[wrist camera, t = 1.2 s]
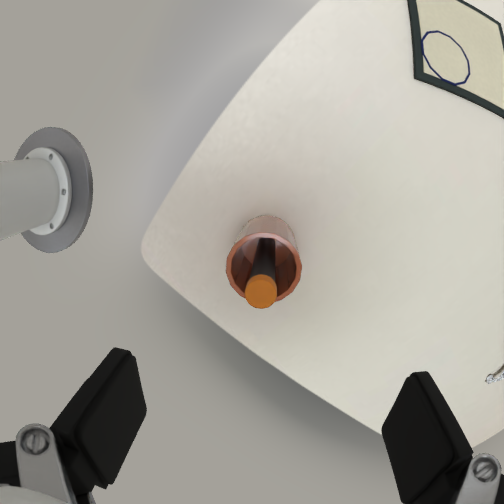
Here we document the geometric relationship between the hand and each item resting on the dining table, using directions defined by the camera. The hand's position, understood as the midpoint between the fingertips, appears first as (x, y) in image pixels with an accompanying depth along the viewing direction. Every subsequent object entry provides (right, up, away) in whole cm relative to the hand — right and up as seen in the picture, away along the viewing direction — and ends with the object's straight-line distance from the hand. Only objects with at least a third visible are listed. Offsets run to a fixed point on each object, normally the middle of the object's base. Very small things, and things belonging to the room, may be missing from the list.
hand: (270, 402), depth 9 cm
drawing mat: (+26, +31, +12) cm, 42 cm away
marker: (+1, +6, +21) cm, 22 cm away
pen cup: (+1, +6, +21) cm, 22 cm away
